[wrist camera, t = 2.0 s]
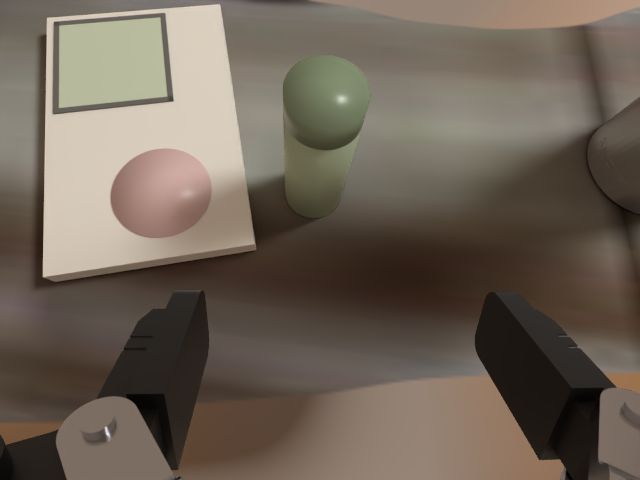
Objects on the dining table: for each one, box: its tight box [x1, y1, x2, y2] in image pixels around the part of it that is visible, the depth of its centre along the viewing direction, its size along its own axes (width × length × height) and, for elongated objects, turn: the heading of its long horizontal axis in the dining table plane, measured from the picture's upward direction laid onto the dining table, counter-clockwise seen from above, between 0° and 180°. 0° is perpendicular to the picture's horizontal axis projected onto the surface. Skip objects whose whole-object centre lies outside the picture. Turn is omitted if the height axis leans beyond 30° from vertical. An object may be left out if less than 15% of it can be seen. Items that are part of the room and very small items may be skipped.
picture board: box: [43, 4, 257, 282], centre depth 31 cm, size 14×22×2 cm, turn 11°
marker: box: [283, 55, 371, 218], centre depth 26 cm, size 4×4×12 cm
